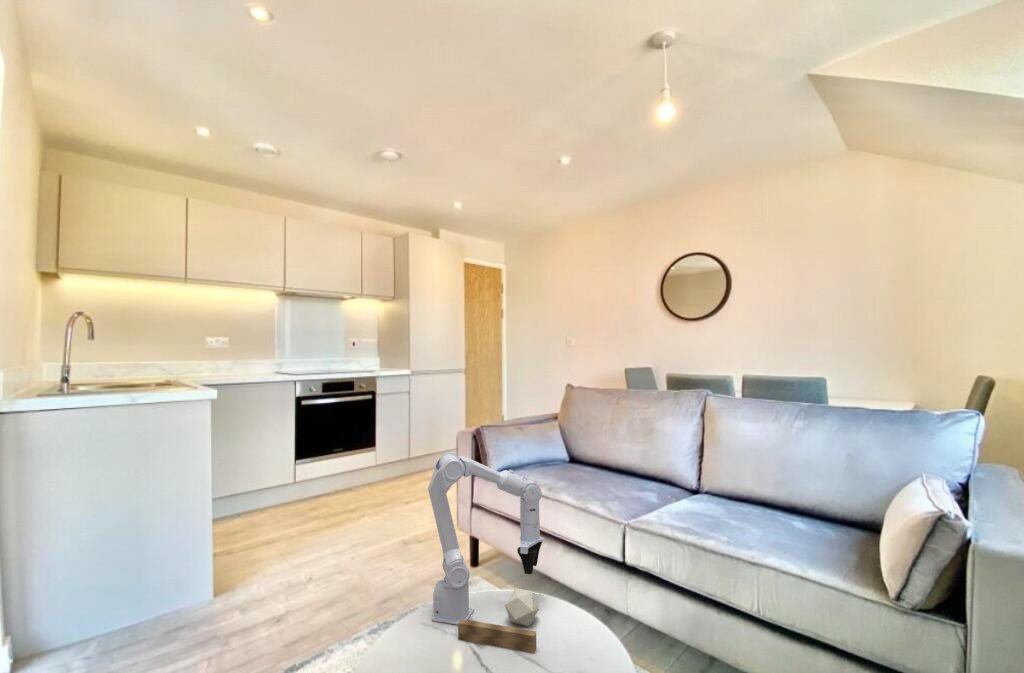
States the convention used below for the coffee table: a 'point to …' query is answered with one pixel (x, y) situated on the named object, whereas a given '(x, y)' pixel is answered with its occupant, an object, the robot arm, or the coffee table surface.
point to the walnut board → (497, 635)
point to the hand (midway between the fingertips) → (530, 569)
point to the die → (521, 607)
